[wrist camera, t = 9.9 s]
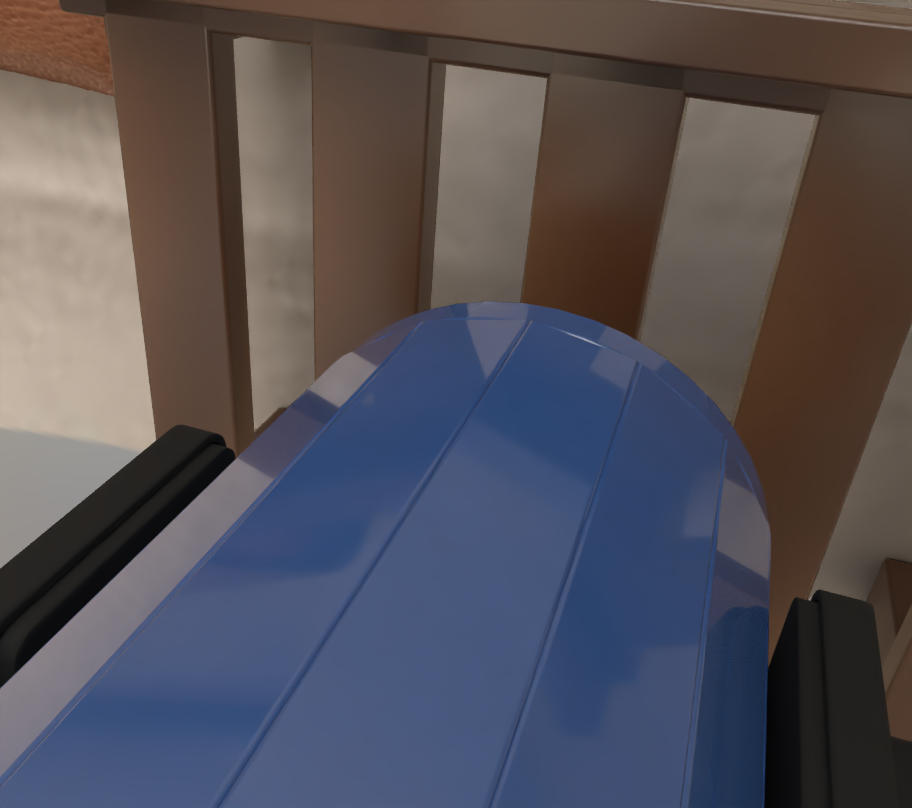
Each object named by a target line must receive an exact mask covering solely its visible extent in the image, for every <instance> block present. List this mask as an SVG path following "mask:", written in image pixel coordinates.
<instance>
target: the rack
mask: <svg viewBox="0 0 912 808" xmlns="http://www.w3.org/2000/svg"><path fill="white" fill-rule="evenodd" d="M59 6H60V8H61V10H63V11H65V12H68V13H76V14H83V15H90V16H97V17H104V23H105V31H106V36H107V38H108V46H109V54H110V62H111V70H112V79H113V87H114V95H115V103H116V112H117V120H118V128H119V136H120V144H121V153H122V161H123V169H124V177H125V186H126V194H127V202H128V210H129V218H130V227H131V235H132V243H133V251H134V260H135V268H136V276H137V284H138V292H139V301H140V309H141V317H142V325H143V334H144V342H145V350H146V358H147V366H148V375H149V383H150V391H151V399H152V408H153V416H154V424H155V432H156V440H158V439H159V438H160V437H161V436H162V435H164V434H165V433H166V432H167V431H168V430H170V429H171V428H173V427H174V426H176V425H182V424H183V425H187V426H191V427H195V428H198V429H202V430H206V431H210V432H214V433H218V434H220V435H221V436H223V438H224V440H225V441H226V447H228V448H230V449H232V450H233V451H234V453H235V457H236V458H237V457H238V456H239V455H240V454H241V453H242V452H243V451H244V450H245V449H246V448H247V447H248V446H249V445H250V444H251V443H252V442H253V441H254V440H255V439H256V438H257V437H259V436H260V435H261V434H262V433H263V432H264V431H265V430H266V429H267V428H268V427H269V426H270V425H271V424H272V423H273V422H274V421H275V420H276V419H277V418H278V417H279V416H280V415H281V414H282V413H283V412H284V411H285V410H286V408H279V409H278V410H277V411H275V412H274V413H273V414H272V415H271V416H270V417H269V418H268V419H267V420H266V421H265V422H264V423H263V424H262V425H261V426H260V427H259V428H258V429H257V430H256V431H255V432H254V422H253V403H252V384H251V365H250V346H249V327H248V309H247V290H246V271H245V252H244V233H243V214H242V195H241V177H240V158H239V139H238V120H237V101H236V82H235V63H234V45H233V39H237V38H241V37H251V38H258V39H265V40H272V41H280V42H287V43H294V44H302V45H309V46H311V60H312V156H313V252H314V348H315V381H316V380H317V379H318V378H319V377H320V376H321V375H322V374H323V373H324V372H325V371H326V370H327V369H328V368H329V367H330V366H332V365H333V364H334V363H335V362H336V361H337V360H338V359H340V358H341V357H342V356H344V355H346V354H348V353H350V352H351V351H352V350H354V349H355V348H356V347H357V346H359V345H360V344H361V343H363V342H364V341H365V340H366V339H368V338H369V337H370V336H372V335H373V334H375V333H377V332H378V331H380V330H382V329H384V328H386V327H387V326H389V325H391V324H393V323H395V322H397V321H399V320H401V319H404V318H407V317H409V316H412V315H415V314H418V313H420V312H423V311H426V310H430V307H431V292H432V276H433V260H434V245H435V229H436V214H437V198H438V183H439V167H440V151H441V136H442V120H443V105H444V89H445V73H446V64H447V65H455V66H462V67H469V68H477V69H484V70H491V71H498V72H506V73H513V74H520V75H528V76H535V77H542V78H548V79H547V87H546V95H545V103H544V112H543V120H542V128H541V136H540V145H539V153H538V161H537V169H536V177H535V186H534V194H533V202H532V210H531V219H530V227H529V235H528V243H527V252H526V260H525V268H524V276H523V285H522V293H521V301H520V303H526V304H532V305H537V306H543V307H548V308H554V309H560V310H563V311H566V312H569V313H573V314H576V315H579V316H582V317H586V318H589V319H592V320H595V321H597V322H599V323H602V324H604V325H606V326H608V327H611V328H613V329H615V330H617V331H620V332H622V333H624V334H626V335H628V336H630V337H632V338H633V339H635V340H637V341H638V342H640V338H641V333H642V328H643V323H644V318H645V313H646V308H647V303H648V298H649V293H650V288H651V283H652V278H653V273H654V269H655V264H656V259H657V254H658V249H659V244H660V239H661V234H662V229H663V224H664V219H665V214H666V209H667V204H668V199H669V194H670V189H671V185H672V180H673V175H674V170H675V165H676V160H677V155H678V150H679V145H680V140H681V135H682V130H683V125H684V120H685V115H686V110H687V105H688V101H689V98H695V99H703V100H710V101H717V102H725V103H732V104H739V105H746V106H754V107H761V108H768V109H776V110H783V111H790V112H797V113H805V114H812V115H816V116H815V120H814V123H813V127H812V131H811V134H810V138H809V141H808V145H807V149H806V152H805V156H804V159H803V163H802V167H801V170H800V174H799V178H798V181H797V185H796V188H795V192H794V196H793V199H792V203H791V206H790V210H789V214H788V217H787V221H786V225H785V228H784V232H783V235H782V239H781V243H780V246H779V250H778V253H777V257H776V261H775V264H774V268H773V272H772V275H771V279H770V282H769V286H768V290H767V293H766V297H765V300H764V304H763V308H762V311H761V315H760V319H759V322H758V326H757V329H756V333H755V337H754V340H753V344H752V347H751V351H750V355H749V358H748V362H747V366H746V369H745V373H744V376H743V380H742V384H741V387H740V391H739V394H738V398H737V402H736V405H735V409H734V412H733V416H732V420H731V423H730V424H731V425H732V426H733V428H734V429H735V431H736V432H737V434H738V436H739V438H740V440H741V441H742V443H743V445H744V447H745V448H746V450H747V452H748V454H749V455H750V457H751V459H752V462H753V464H754V467H755V470H756V472H757V475H758V477H759V480H760V482H761V485H762V488H763V492H764V497H765V501H766V506H767V510H768V515H769V526H770V532H771V562H770V606H769V650H768V667H769V664H770V661H771V658H772V656H773V653H774V650H775V647H776V645H777V642H778V639H779V636H780V634H781V631H782V628H783V625H784V622H785V620H786V617H787V614H788V611H789V609H790V606H791V604H792V601H793V600H794V598H796V597H798V598H802V599H806V600H808V597H809V595H810V592H811V589H812V587H813V584H814V581H815V579H816V576H817V573H818V571H819V568H820V565H821V563H822V560H823V557H824V555H825V552H826V549H827V547H828V544H829V541H830V539H831V536H832V533H833V531H834V528H835V525H836V523H837V520H838V517H839V515H840V512H841V509H842V507H843V504H844V502H845V499H846V496H847V494H848V491H849V488H850V486H851V483H852V480H853V478H854V475H855V472H856V470H857V467H858V464H859V462H860V459H861V456H862V454H863V451H864V448H865V446H866V443H867V440H868V438H869V435H870V432H871V430H872V427H873V424H874V422H875V419H876V416H877V414H878V411H879V408H880V406H881V403H882V400H883V398H884V395H885V392H886V390H887V387H888V384H889V382H890V379H891V376H892V374H893V371H894V368H895V366H896V363H897V360H898V358H899V355H900V352H901V350H902V347H903V345H904V342H905V339H906V337H907V334H908V331H909V329H910V326H911V323H912V9H906V8H896V7H887V6H877V5H868V4H859V3H849V2H840V1H831V0H59ZM867 602H869V603H871V604H872V605H873V608H874V612H875V619H876V627H877V635H878V642H879V650H880V658H881V665H882V673H883V681H884V688H885V696H886V704H887V711H888V719H889V727H890V735H891V736H893V737H897V738H900V739H904V740H907V741H911V742H912V564H908V563H904V562H900V561H896V560H892V559H886V560H885V561H884V562H883V565H882V567H881V570H880V572H879V574H878V577H877V579H876V581H875V584H874V586H873V588H872V591H871V593H870V596H869V598H868V600H867Z"/></svg>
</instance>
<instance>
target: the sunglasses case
mask: <svg viewBox="0 0 912 808" xmlns="http://www.w3.org/2000/svg"><path fill="white" fill-rule="evenodd" d="M0 69H1V70H6V71H10V72H16V73H20V74H24V75H27V76H32V77H37V78H40V79H45V80H49V81H53V82H58V83H64V84H69V85H72V86H76V87H79V88H82V89H86V90H92V91H95V92H99V93H102V94H105V95H111V96H115V95H114V87H113V79H112V70H111V62H110V54H109V46H108V38H107V36H106V31H105V23H104V17H97V16H90V15H83V14H76V13H68V12H65V11H63V10H61V8H60V6H59V0H0Z"/></svg>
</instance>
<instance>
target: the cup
mask: <svg viewBox="0 0 912 808" xmlns="http://www.w3.org/2000/svg"><path fill="white" fill-rule="evenodd" d="M770 562H771V532H770V526H769V515H768V510H767V506H766V501H765V497H764V492H763V488H762V485H761V482H760V480H759V477H758V475H757V472H756V470H755V467H754V464H753V462H752V459H751V457H750V455H749V454H748V452H747V450H746V448H745V447H744V445H743V443H742V441H741V440H740V438H739V436H738V434H737V432H736V431H735V429H734V428H733V426H732V425H731V424H730V423H729V421H728V420H727V419H726V417H725V416H724V415H723V413H722V412H721V411H720V409H719V408H718V407H717V406H716V404H715V403H714V402H713V401H712V400H711V399H710V398H709V397H708V396H707V395H706V394H705V393H704V392H703V391H702V390H701V389H700V388H699V387H698V386H697V385H696V384H695V383H694V382H693V381H692V380H691V379H690V378H689V377H688V376H687V375H686V374H684V373H683V372H682V371H681V370H679V369H678V368H677V367H675V366H674V365H673V364H672V363H670V362H669V361H668V360H666V359H665V358H664V357H663V356H661V355H660V354H659V353H657V352H655V351H654V350H652V349H650V348H649V347H647V346H645V345H643V344H642V343H640V342H638V341H637V340H635V339H633V338H632V337H630V336H628V335H626V334H624V333H622V332H620V331H617V330H615V329H613V328H611V327H608V326H606V325H604V324H602V323H599V322H597V321H595V320H592V319H589V318H586V317H582V316H579V315H576V314H573V313H569V312H566V311H563V310H560V309H554V308H548V307H543V306H537V305H532V304H526V303H511V302H492V301H488V302H475V303H462V304H454V305H449V306H444V307H440V308H435V309H430V310H426V311H423V312H420V313H418V314H415V315H412V316H409V317H407V318H404V319H401V320H399V321H397V322H395V323H393V324H391V325H389V326H387V327H386V328H384V329H382V330H380V331H378V332H377V333H375V334H373V335H372V336H370V337H369V338H368V339H366V340H365V341H364V342H363V343H361V344H360V345H359V346H357V347H356V348H355V349H354V350H352V351H351V352H350V353H348V354H346V355H344V356H342V357H341V358H340V359H338V360H337V361H336V362H335V363H334V364H333V365H332V366H330V367H329V368H328V369H327V370H326V371H325V372H324V373H323V374H322V375H321V376H320V377H319V378H318V379H317V380H316V381H315V382H314V383H313V384H312V385H311V386H310V387H309V388H308V389H307V390H306V391H305V392H304V393H303V394H302V395H301V396H300V397H299V398H298V399H297V400H296V401H295V402H293V403H292V404H291V405H290V406H289V407H288V408H287V409H286V410H285V411H284V412H283V413H282V414H281V415H280V416H279V417H278V418H277V419H276V420H275V421H274V422H273V423H272V424H271V425H270V426H269V427H268V428H267V429H266V430H265V431H264V432H263V433H262V434H261V435H260V436H259V437H257V438H256V439H255V440H254V441H253V442H252V443H251V444H250V445H249V446H248V447H247V448H246V449H245V450H244V451H243V452H242V453H241V454H240V455H239V456H238V457H237V458H236V459H235V460H234V461H233V462H232V463H231V464H230V465H229V466H228V467H227V468H226V469H225V470H224V471H223V472H221V473H220V474H219V475H218V476H217V477H216V478H215V479H214V480H213V481H212V482H211V483H210V484H209V485H208V486H207V487H206V488H205V489H204V490H203V491H202V492H201V493H200V494H199V495H198V496H197V497H196V498H195V499H194V500H193V501H192V502H191V503H190V504H189V505H188V506H187V507H186V508H184V509H183V510H182V511H181V512H180V513H179V514H178V515H177V516H176V517H175V518H174V519H173V520H172V521H171V522H170V523H169V524H168V525H167V526H166V527H165V528H164V529H163V530H162V531H161V532H160V533H159V534H158V535H157V536H156V537H155V538H154V539H153V540H152V541H151V542H150V543H148V544H147V545H146V546H145V547H144V548H143V549H142V550H141V551H140V552H139V553H138V554H137V555H136V556H135V557H134V558H133V559H132V560H131V561H130V562H129V563H128V564H127V565H126V566H125V567H124V568H123V569H122V570H121V571H120V572H119V573H118V574H117V575H116V576H115V577H114V578H112V579H111V580H110V581H109V582H108V583H107V584H106V585H105V586H104V587H103V588H102V589H101V590H100V591H99V592H98V593H97V594H96V595H95V596H94V597H93V598H92V599H91V600H90V601H89V602H88V603H87V604H86V605H85V606H84V607H83V608H82V609H81V610H80V611H79V612H78V613H77V614H75V615H74V616H73V617H72V618H71V619H70V620H69V621H68V622H67V623H66V624H65V625H64V626H63V627H62V628H61V629H60V630H59V631H58V632H57V633H56V634H55V635H54V636H53V637H52V638H51V639H50V640H49V641H48V642H47V643H46V644H45V645H44V646H43V647H42V648H41V649H39V650H38V651H37V652H36V653H35V654H34V655H33V656H32V657H31V658H30V659H29V660H28V661H27V662H26V663H25V664H24V665H23V666H22V667H21V668H20V669H19V670H18V671H17V672H16V673H15V674H14V675H13V676H12V677H11V678H10V679H9V680H8V681H7V682H6V683H5V684H3V685H2V686H1V687H0V808H765V780H766V737H767V693H768V650H769V606H770Z"/></svg>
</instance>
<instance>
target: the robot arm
mask: <svg viewBox="0 0 912 808" xmlns="http://www.w3.org/2000/svg"><path fill="white" fill-rule="evenodd" d="M235 459H236V457H235V453H234V451H233V450H232V449H230V448H228V447H226V441H225V440H224V438H223V436H221V435H220V434H218V433H214V432H210V431H206V430H202V429H198V428H195V427H191V426H187V425H183V424H182V425H176V426H174V427H173V428H171V429H170V430H168V431H167V432H166V433H165V434H164V435H162V436H161V437H160V438H159V439H158V440H156V441H155V442H154V443H153V444H151V445H150V446H149V447H148V448H147V449H145V450H144V451H143V452H142V453H141V454H139V455H138V456H137V457H136V458H134V459H133V460H132V461H131V462H130V463H129V464H127V465H126V466H125V467H123V468H122V469H121V470H120V471H119V472H118V473H116V474H115V475H114V476H112V477H111V478H110V479H109V480H108V481H106V482H105V483H104V484H103V485H102V486H100V487H99V488H98V489H97V490H95V492H93V493H92V494H91V495H90V496H88V497H87V498H86V499H85V500H83V501H82V502H81V503H80V504H78V505H77V506H76V507H75V508H74V509H72V510H71V511H70V512H69V513H67V514H66V515H65V516H64V517H63V518H61V519H60V520H59V521H58V522H56V523H55V524H54V525H53V526H52V527H50V528H49V529H48V530H47V531H46V532H45V533H43V534H42V535H41V536H40V537H38V538H37V539H36V540H35V541H33V542H32V543H31V544H30V545H29V546H27V547H26V548H25V549H24V550H23V551H21V552H20V553H19V554H18V555H16V556H15V557H14V558H13V559H11V560H10V561H9V562H8V563H7V564H5V565H4V566H3V567H2V568H1V569H0V687H1V686H2V685H3V684H5V683H6V682H7V681H8V680H9V679H10V678H11V677H12V676H13V675H14V674H15V673H16V672H17V671H18V670H19V669H20V668H21V667H22V666H23V665H24V664H25V663H26V662H27V661H28V660H29V659H30V658H31V657H32V656H33V655H34V654H35V653H36V652H37V651H38V650H39V649H41V648H42V647H43V646H44V645H45V644H46V643H47V642H48V641H49V640H50V639H51V638H52V637H53V636H54V635H55V634H56V633H57V632H58V631H59V630H60V629H61V628H62V627H63V626H64V625H65V624H66V623H67V622H68V621H69V620H70V619H71V618H72V617H73V616H74V615H75V614H77V613H78V612H79V611H80V610H81V609H82V608H83V607H84V606H85V605H86V604H87V603H88V602H89V601H90V600H91V599H92V598H93V597H94V596H95V595H96V594H97V593H98V592H99V591H100V590H101V589H102V588H103V587H104V586H105V585H106V584H107V583H108V582H109V581H110V580H111V579H112V578H114V577H115V576H116V575H117V574H118V573H119V572H120V571H121V570H122V569H123V568H124V567H125V566H126V565H127V564H128V563H129V562H130V561H131V560H132V559H133V558H134V557H135V556H136V555H137V554H138V553H139V552H140V551H141V550H142V549H143V548H144V547H145V546H146V545H147V544H148V543H150V542H151V541H152V540H153V539H154V538H155V537H156V536H157V535H158V534H159V533H160V532H161V531H162V530H163V529H164V528H165V527H166V526H167V525H168V524H169V523H170V522H171V521H172V520H173V519H174V518H175V517H176V516H177V515H178V514H179V513H180V512H181V511H182V510H183V509H184V508H186V507H187V506H188V505H189V504H190V503H191V502H192V501H193V500H194V499H195V498H196V497H197V496H198V495H199V494H200V493H201V492H202V491H203V490H204V489H205V488H206V487H207V486H208V485H209V484H210V483H211V482H212V481H213V480H214V479H215V478H216V477H217V476H218V475H219V474H220V473H221V472H223V471H224V470H225V469H226V468H227V467H228V466H229V465H230V464H231V463H232V462H233V461H234V460H235ZM765 808H912V742H911V741H907V740H904V739H900V738H897V737H893V736H891V735H890V727H889V719H888V711H887V704H886V696H885V688H884V681H883V673H882V665H881V658H880V650H879V642H878V635H877V627H876V619H875V612H874V608H873V605H872V604H871V603H869V602H865V601H861V600H857V599H854V598H850V597H846V596H842V595H838V594H834V593H831V592H827V591H823V590H817V591H816V592H815V594H814V595H813V597H812V599H811V601H809V600H806V599H802V598H798V597H796V598H794V600H793V601H792V604H791V606H790V609H789V611H788V614H787V617H786V620H785V622H784V625H783V628H782V631H781V634H780V636H779V639H778V642H777V645H776V647H775V650H774V653H773V656H772V658H771V661H770V664H769V667H768V693H767V737H766V780H765Z"/></svg>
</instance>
